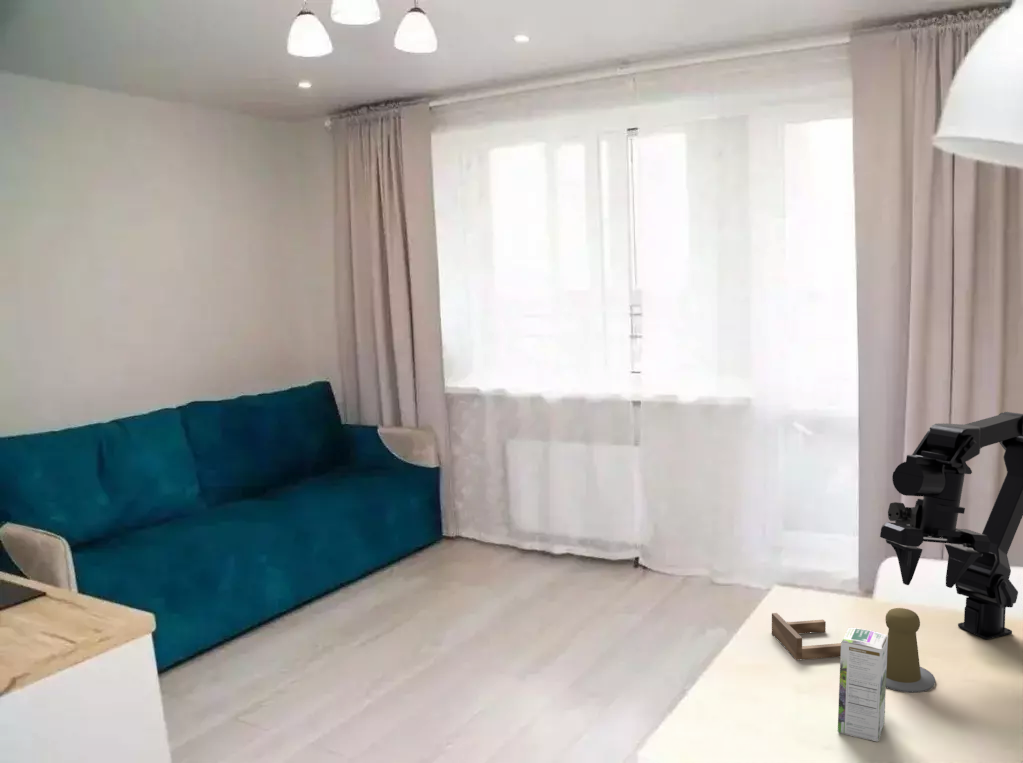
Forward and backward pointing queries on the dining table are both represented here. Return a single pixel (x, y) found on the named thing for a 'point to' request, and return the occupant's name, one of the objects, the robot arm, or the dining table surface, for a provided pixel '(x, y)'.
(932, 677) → the coaster
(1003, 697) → the dining table surface
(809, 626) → the holder
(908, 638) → the cork
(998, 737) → the dining table surface
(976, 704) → the dining table surface
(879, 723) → the syrup box
